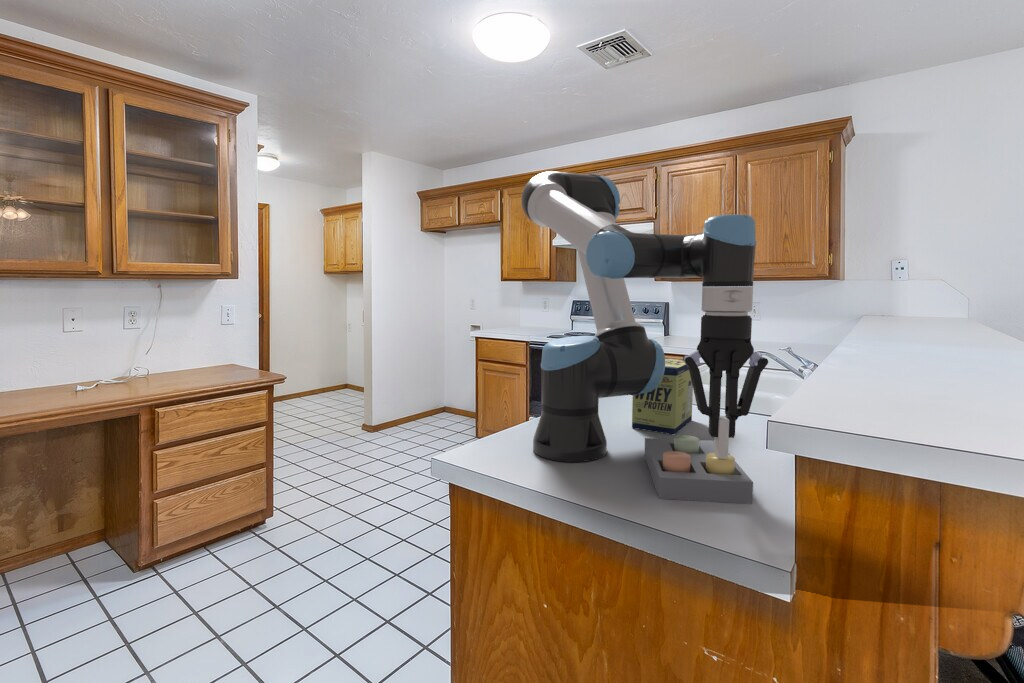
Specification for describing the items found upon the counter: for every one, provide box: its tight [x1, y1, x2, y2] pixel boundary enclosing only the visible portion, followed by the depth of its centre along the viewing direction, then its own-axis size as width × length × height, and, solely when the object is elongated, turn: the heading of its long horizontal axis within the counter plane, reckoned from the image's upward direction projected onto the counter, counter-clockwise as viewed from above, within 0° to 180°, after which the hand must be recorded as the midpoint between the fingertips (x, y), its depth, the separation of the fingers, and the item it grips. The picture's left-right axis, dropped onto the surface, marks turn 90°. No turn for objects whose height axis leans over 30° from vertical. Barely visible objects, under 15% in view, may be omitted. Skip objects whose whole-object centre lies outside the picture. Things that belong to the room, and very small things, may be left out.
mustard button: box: [706, 453, 736, 475], centre depth 83 cm, size 4×4×3 cm
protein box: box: [631, 357, 694, 435], centre depth 122 cm, size 10×16×16 cm
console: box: [643, 437, 754, 505], centre depth 88 cm, size 14×21×4 cm, turn 171°
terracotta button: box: [663, 451, 691, 473], centre depth 84 cm, size 4×4×3 cm
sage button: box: [673, 434, 700, 453], centre depth 93 cm, size 4×4×3 cm
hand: (720, 455), depth 82 cm, fingers closed
